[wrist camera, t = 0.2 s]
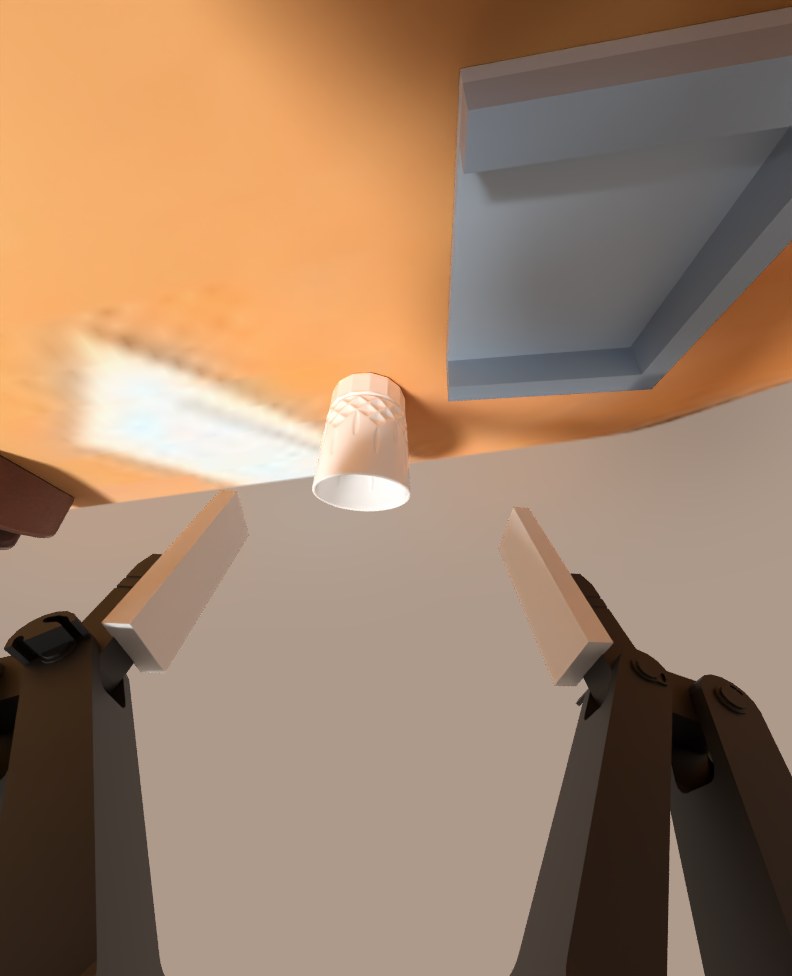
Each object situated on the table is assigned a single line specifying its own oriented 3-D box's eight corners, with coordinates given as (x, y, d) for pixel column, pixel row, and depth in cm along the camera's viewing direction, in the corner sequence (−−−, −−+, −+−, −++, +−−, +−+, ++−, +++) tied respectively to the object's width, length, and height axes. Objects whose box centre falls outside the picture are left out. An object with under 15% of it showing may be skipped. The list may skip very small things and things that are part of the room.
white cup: (340, 424, 32) (329, 512, 28) (314, 368, 25) (295, 475, 21) (412, 421, 31) (412, 510, 27) (407, 362, 24) (406, 472, 20)
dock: (445, 362, 24) (448, 401, 22) (459, 68, 11) (468, 110, 10) (633, 347, 22) (651, 389, 21) (900, -15, 10) (1000, 19, 8)
